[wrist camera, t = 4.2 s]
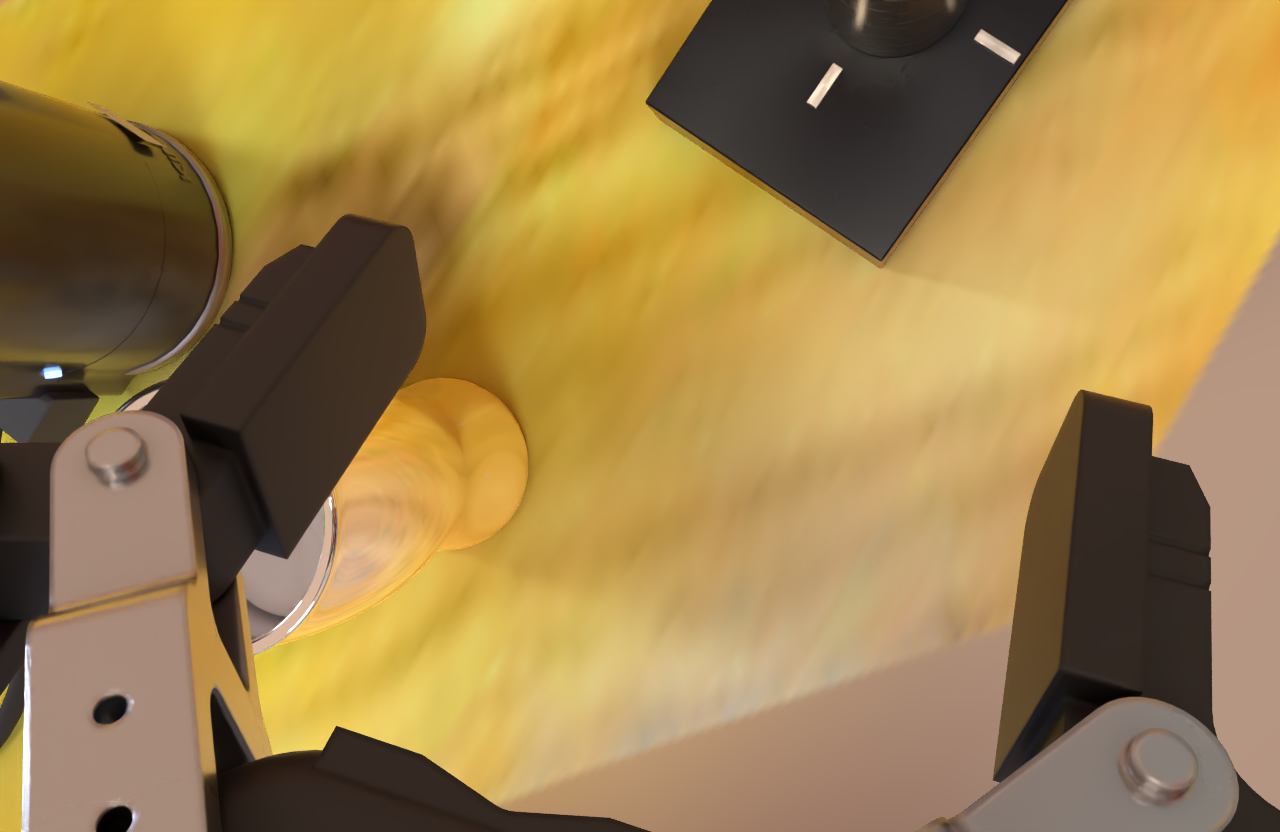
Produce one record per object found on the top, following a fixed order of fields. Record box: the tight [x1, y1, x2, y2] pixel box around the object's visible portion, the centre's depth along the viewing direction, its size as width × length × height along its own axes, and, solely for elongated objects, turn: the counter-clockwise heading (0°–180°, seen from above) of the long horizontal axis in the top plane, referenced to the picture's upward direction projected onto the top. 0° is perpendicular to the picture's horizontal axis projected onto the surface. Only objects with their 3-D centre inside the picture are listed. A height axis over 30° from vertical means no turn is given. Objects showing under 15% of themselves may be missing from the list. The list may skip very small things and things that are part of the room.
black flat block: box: [646, 0, 1073, 268], centre depth 35 cm, size 11×9×3 cm
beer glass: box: [116, 378, 528, 655], centre depth 33 cm, size 7×7×15 cm
